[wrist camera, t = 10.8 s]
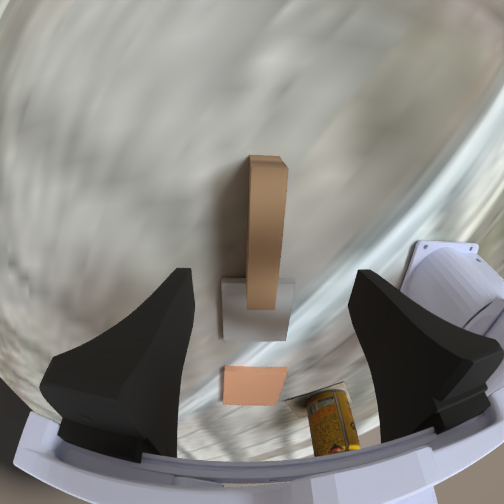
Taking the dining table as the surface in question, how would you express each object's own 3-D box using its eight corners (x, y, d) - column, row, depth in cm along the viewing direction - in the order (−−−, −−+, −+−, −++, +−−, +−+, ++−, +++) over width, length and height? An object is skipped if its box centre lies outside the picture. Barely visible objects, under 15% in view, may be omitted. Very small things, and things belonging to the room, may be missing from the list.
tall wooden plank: (220, 154, 18) (214, 166, 14) (307, 158, 18) (323, 171, 14) (224, 335, 26) (222, 367, 23) (284, 335, 26) (289, 366, 23)
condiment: (351, 400, 35) (369, 468, 25) (299, 416, 37) (308, 484, 26) (344, 380, 32) (365, 459, 21) (284, 399, 33) (293, 478, 23)
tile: (287, 372, 29) (275, 405, 32) (286, 363, 30) (274, 397, 34) (224, 371, 28) (223, 404, 32) (224, 362, 29) (223, 396, 33)
